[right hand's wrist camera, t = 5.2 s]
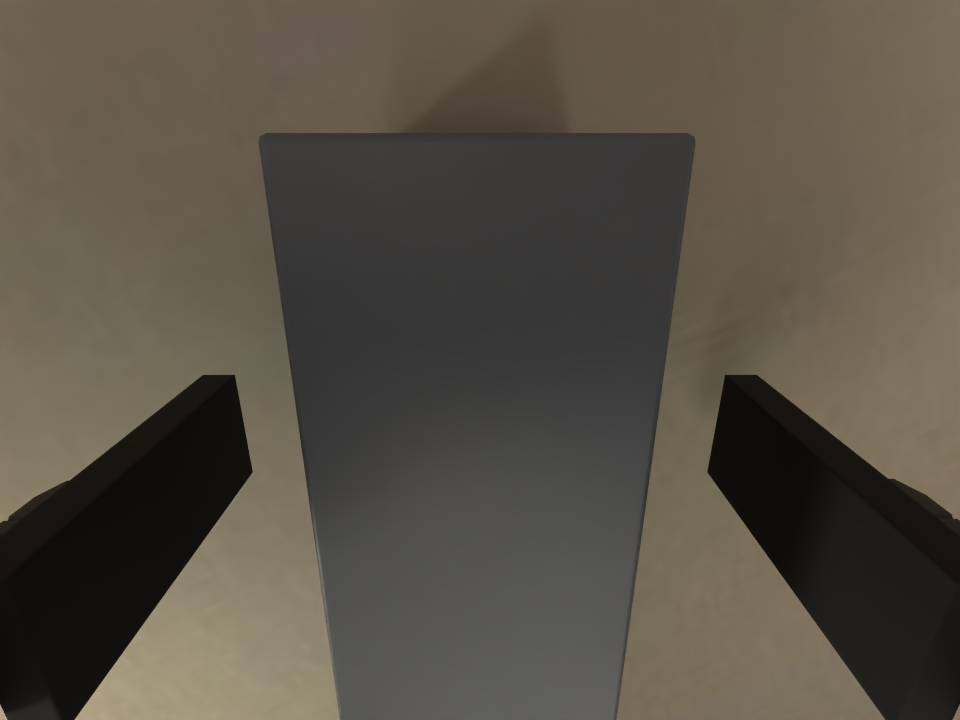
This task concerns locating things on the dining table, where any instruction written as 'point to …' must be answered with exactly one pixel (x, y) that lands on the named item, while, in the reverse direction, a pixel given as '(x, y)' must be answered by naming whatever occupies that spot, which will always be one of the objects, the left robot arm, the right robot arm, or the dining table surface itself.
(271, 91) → the dining table surface
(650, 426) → the beam
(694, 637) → the dining table surface
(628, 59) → the dining table surface
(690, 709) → the dining table surface
